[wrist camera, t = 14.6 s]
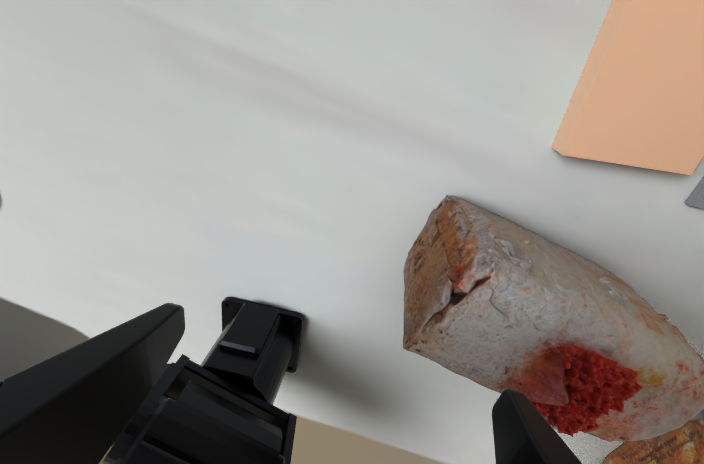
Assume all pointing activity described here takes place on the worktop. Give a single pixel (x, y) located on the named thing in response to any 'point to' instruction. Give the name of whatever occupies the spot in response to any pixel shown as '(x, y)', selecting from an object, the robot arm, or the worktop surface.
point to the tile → (641, 89)
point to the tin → (665, 447)
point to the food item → (545, 328)
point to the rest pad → (697, 196)
